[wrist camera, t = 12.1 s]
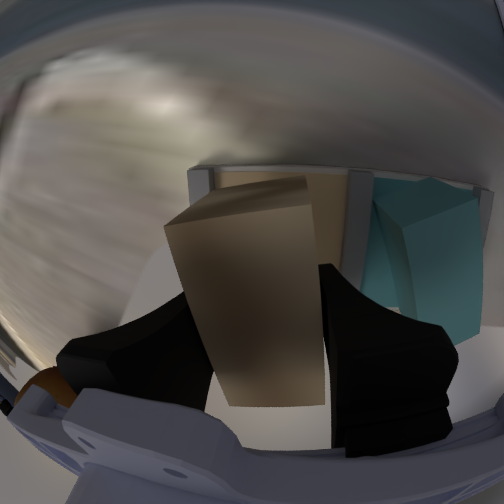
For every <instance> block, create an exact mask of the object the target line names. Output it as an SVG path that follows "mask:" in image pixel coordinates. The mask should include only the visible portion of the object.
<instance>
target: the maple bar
mask: <svg viewBox="0 0 504 504" xmlns="http://www.w3.org/2000/svg"><path fill="white" fill-rule="evenodd" d="M163 227H164V230H165V233H166V237H167V240H168V244H169V247H170V250H171V253H172V256H173V260H174V263H175V266H176V269H177V272H178V275H179V278H180V281H181V284H182V287H183V290H184V293H185V296H186V299H187V302H188V304H189V307H190V310H191V313H192V315H193V318H194V321H195V324H196V326H197V329H198V332H199V334H200V337H201V339H202V342H203V345H204V347H205V350H206V352H207V355H208V357H209V360H210V362H211V364H212V367H213V369H214V372H215V374H216V376H217V379H218V381H219V383H220V386H221V388H222V390H223V393H224V395H225V397H226V399H227V401H228V404H229V406H241V407H291V406H292V407H294V406H313V405H325V369H324V342H323V323H322V307H321V293H320V281H319V270H318V259H317V249H316V240H315V231H314V223H313V215H312V207H311V201H310V196H309V191H308V186H307V181H306V176H305V175H303V176H295V177H288V178H281V179H274V180H267V181H261V182H254V183H248V184H242V185H236V186H231V187H225V188H219V189H214V190H212V191H211V192H210V193H208V194H207V195H205V196H204V197H203V198H201V199H200V200H198V201H197V202H196V203H194V204H193V205H191V206H190V207H189V208H187V209H186V210H185V211H183V212H182V213H181V214H179V215H178V216H177V217H175V218H174V219H173V220H171V221H170V222H169V223H167V224H166V225H165V226H163Z"/></svg>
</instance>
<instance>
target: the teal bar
mask: <svg viewBox="0 0 504 504" xmlns="http://www.w3.org/2000/svg"><path fill="white" fill-rule="evenodd" d="M372 202H373V205H374V208H375V211H376V215H377V218H378V221H379V225H380V228H381V232H382V236H383V239H384V243H385V247H386V251H387V255H388V259H389V263H390V267H391V272H392V276H393V281H394V286H395V291H396V296H397V301H398V306H399V310H400V312H401V314H402V315H403V316H406V317H409V318H412V319H415V320H418V321H422V322H427V323H431V324H436V325H440V326H442V327H443V329H444V330H445V331H446V333H447V334H448V336H449V337H450V339H451V341H452V343H453V345H454V346H455V345H457V344H459V343H461V342H463V341H465V340H467V339H469V338H471V337H473V336H475V335H477V334H479V332H480V323H481V312H482V295H483V251H482V234H481V223H480V214H479V206H478V199H477V197H475V196H473V195H471V194H468V193H466V192H464V191H462V190H460V189H458V188H456V187H453V186H451V185H449V184H447V183H444V182H442V181H440V180H437V179H435V178H433V177H428V178H425V179H422V180H420V181H417V182H414V183H411V184H409V185H406V186H403V187H400V188H398V189H395V190H392V191H389V192H387V193H384V194H381V195H379V196H376V197H373V198H372Z"/></svg>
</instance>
